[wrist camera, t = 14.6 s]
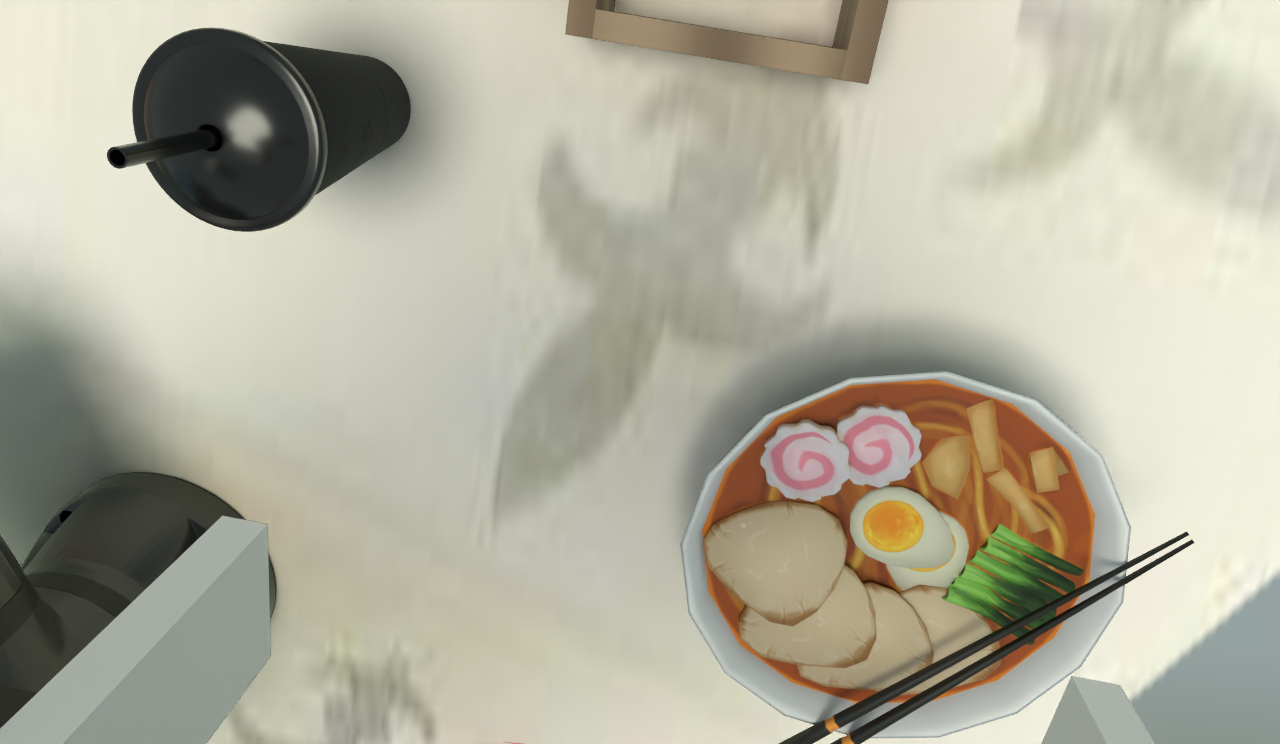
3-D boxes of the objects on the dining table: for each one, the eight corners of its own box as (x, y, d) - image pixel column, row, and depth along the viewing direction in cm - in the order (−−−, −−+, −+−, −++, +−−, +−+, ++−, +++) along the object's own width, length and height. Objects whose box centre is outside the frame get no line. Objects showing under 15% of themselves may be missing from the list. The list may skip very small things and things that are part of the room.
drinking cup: (299, 167, 47) (21, 257, 29) (294, 18, 44) (-19, 12, 26) (434, 186, 47) (240, 289, 28) (438, 37, 44) (225, 45, 25)
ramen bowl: (953, 224, 45) (997, 265, 37) (1170, 526, 50) (1247, 615, 42) (597, 476, 53) (575, 552, 45) (817, 715, 58) (830, 818, 50)
